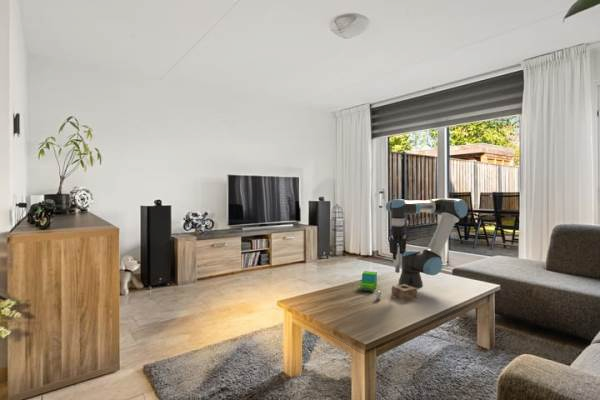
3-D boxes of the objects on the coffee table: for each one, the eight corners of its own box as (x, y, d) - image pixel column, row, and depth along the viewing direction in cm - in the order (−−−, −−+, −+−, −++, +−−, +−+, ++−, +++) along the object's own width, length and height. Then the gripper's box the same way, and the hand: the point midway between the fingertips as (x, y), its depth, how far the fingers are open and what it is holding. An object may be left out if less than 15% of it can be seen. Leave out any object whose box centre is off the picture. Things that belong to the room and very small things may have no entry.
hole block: (391, 295, 203) (392, 286, 202) (404, 293, 207) (404, 283, 207) (403, 301, 194) (404, 290, 193) (416, 298, 198) (417, 288, 198)
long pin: (394, 271, 202) (394, 245, 201) (397, 271, 203) (397, 245, 202) (397, 272, 199) (397, 246, 199) (400, 272, 200) (400, 245, 200)
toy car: (358, 291, 210) (358, 275, 210) (362, 285, 223) (362, 270, 222) (374, 293, 206) (374, 277, 206) (378, 287, 219) (378, 272, 218)
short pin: (375, 299, 196) (375, 291, 196) (378, 299, 197) (378, 290, 197) (378, 301, 194) (378, 292, 193) (381, 300, 195) (381, 291, 195)
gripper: (391, 226, 193) (391, 267, 194) (412, 225, 199) (412, 264, 201) (383, 225, 200) (383, 264, 201) (403, 223, 206) (403, 261, 207)
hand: (397, 264), depth 201 cm, fingers closed on long pin, 2 cm apart
